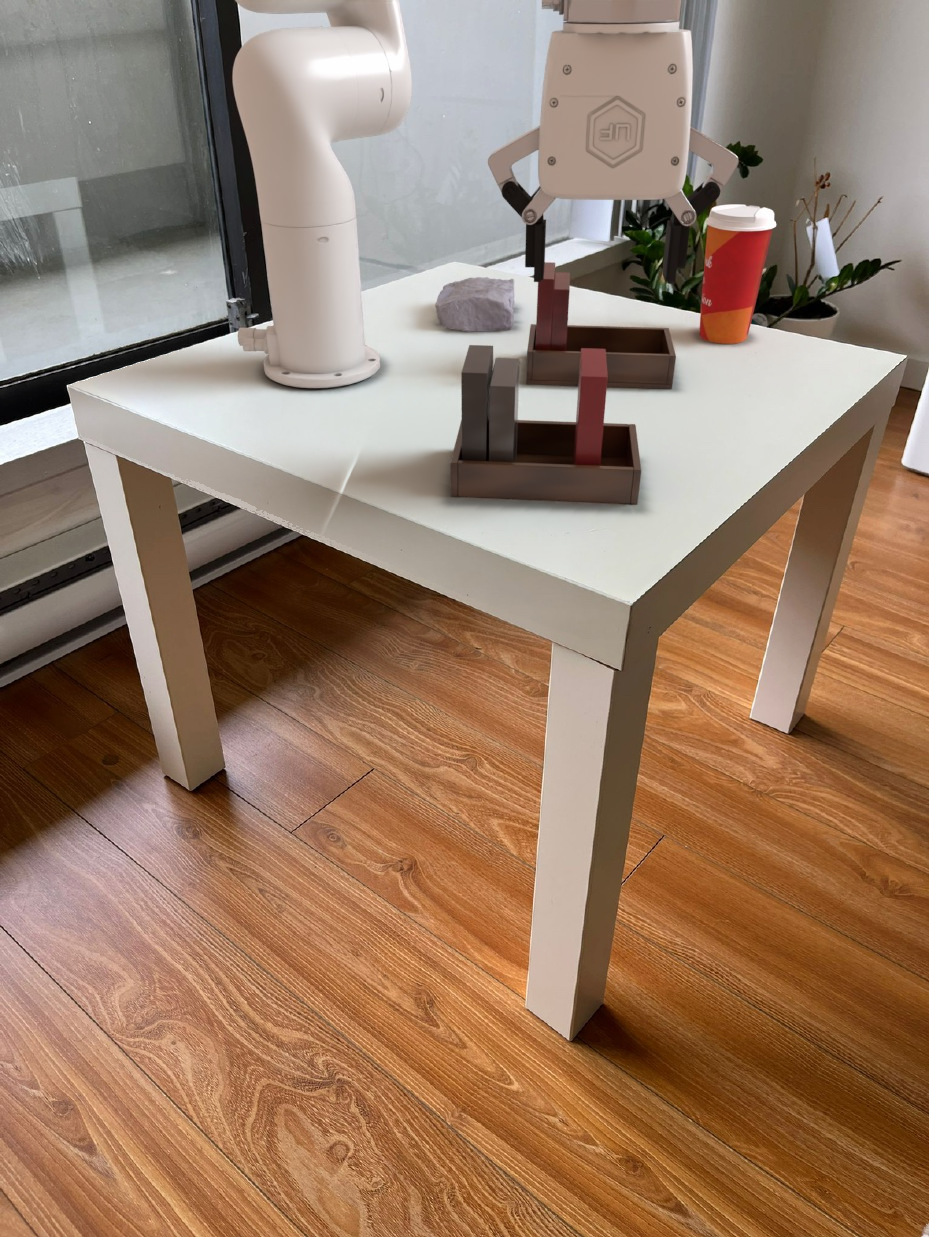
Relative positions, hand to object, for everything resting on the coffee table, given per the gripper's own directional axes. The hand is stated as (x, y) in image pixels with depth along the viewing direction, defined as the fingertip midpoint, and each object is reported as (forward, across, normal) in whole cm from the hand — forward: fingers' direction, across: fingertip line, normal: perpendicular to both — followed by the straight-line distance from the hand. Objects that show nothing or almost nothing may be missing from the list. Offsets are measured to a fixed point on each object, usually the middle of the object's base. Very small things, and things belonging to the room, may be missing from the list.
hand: (603, 278), depth 70 cm
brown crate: (+17, -4, 0) cm, 17 cm away
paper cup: (+17, +16, +40) cm, 47 cm away
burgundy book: (+16, 0, 0) cm, 17 cm away
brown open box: (+17, +1, +27) cm, 32 cm away
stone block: (+17, -14, +45) cm, 50 cm away
